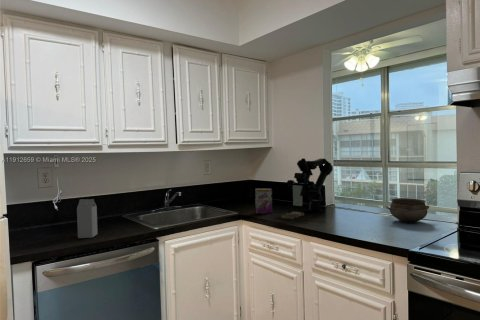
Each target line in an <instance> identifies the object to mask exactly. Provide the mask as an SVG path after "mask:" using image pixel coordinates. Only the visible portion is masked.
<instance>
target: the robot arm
mask: <svg viewBox="0 0 480 320" xmlns="http://www.w3.org/2000/svg"><path fill="white" fill-rule="evenodd" d="M323 164H325V165H324V166H323ZM296 165H297V167H298V169H299V171H300V172H295V173H294V176H293V178H294V179H296V182H295V180H294V179H293V180H292V179H288V180H287V182H286V184H287V186H288V187H289V188H290V189H291V196H293V185H299V186H302V191H301V194H300V196H302V197H303V196H304V194H306V193H307V195H306V196H307V201H308V202H309V210H310V211H311V212H322V209H321V205H322V204H321V203H322V202H323V200H324V198H323V195H322V192H321V190H322V187H323V185H324V183H325V181H326V179H327V177H328V176H329V175H331V173H332V172H333V169H334V168H333V165H332V164H331V162H329V161H328V160H327V159H326V158H318V159H315V160H306V158H300V160H298V161H297V163H296ZM317 167H318V169H319V175H318V178H317V179H316V181H315V182H314V181H312V180H310V178H311V176H313V175H314V174H313V171H314V170H316V169H317ZM312 170H313V171H312Z"/></svg>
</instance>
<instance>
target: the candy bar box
mask: <svg viewBox="0 0 480 320" xmlns="http://www.w3.org/2000/svg"><path fill="white" fill-rule="evenodd" d="M254 202H255V203H254V211H255V212H254V214H255V215H258V214H259V215H265V214H267V213H269V214H270V213H271V214H272V213H273V189H272V188H255V190H254Z"/></svg>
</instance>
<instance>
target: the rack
mask: <svg viewBox="0 0 480 320" xmlns="http://www.w3.org/2000/svg"><path fill="white" fill-rule="evenodd" d="M291 213H300V214H301V216H302V217H304V216H305V213H304V212H299V211H292V212H291ZM301 216H300V217H301ZM281 218H282V219H288V220H294V219H298V218H299V217H298V215H294V214H289V213H287V212H286V213H285V214H281Z"/></svg>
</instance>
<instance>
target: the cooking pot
mask: <svg viewBox="0 0 480 320" xmlns="http://www.w3.org/2000/svg"><path fill="white" fill-rule="evenodd" d="M390 200H391V203H390V206H388V207H386V209H387V210H389V213H390V214H391V215H392V216H393V217H394V218H395V219H397V220H398V221H400V222H401V223H404V222H405V223H404V224H415V223H417V222H419V221H421V220H423V219H425V218H426V216H427V215H428V210H429V209H430V205H427V204H426V202H427V201H426V200H424V199H421V198H419V199H418V198H412V197H411V198H410V197H407V198H405V197H400V198H399V197H397V198H395V197H394V198H391V199H390Z"/></svg>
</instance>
